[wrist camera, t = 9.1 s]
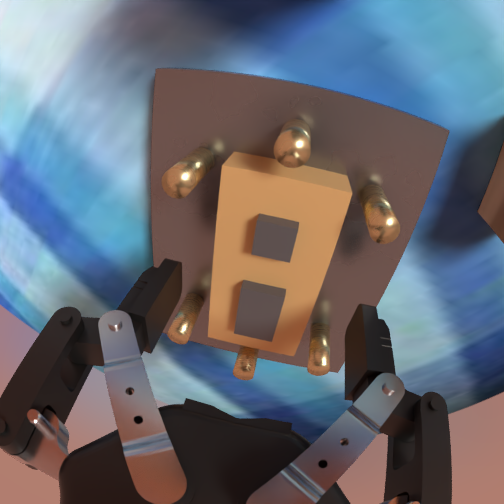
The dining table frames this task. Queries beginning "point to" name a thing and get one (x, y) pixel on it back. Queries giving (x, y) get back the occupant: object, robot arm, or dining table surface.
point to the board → (272, 249)
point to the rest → (495, 199)
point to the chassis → (292, 156)
